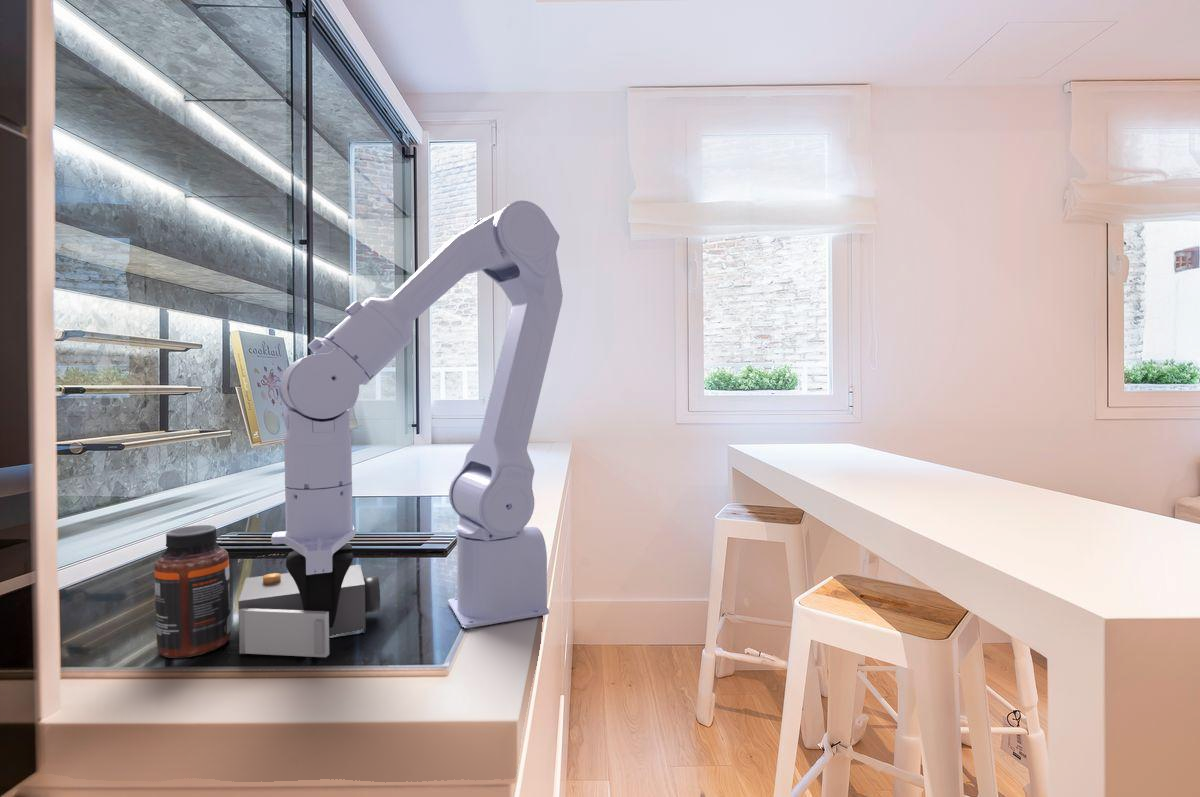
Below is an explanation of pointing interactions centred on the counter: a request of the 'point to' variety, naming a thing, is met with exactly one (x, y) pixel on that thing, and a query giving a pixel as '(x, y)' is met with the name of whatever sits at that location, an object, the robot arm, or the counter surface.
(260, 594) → the block
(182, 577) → the supplement bottle
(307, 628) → the side door
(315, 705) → the counter surface
